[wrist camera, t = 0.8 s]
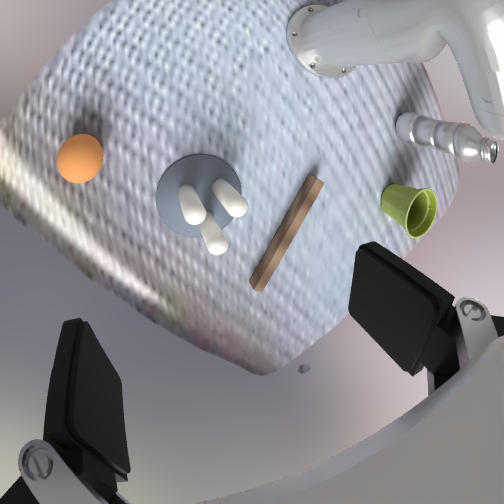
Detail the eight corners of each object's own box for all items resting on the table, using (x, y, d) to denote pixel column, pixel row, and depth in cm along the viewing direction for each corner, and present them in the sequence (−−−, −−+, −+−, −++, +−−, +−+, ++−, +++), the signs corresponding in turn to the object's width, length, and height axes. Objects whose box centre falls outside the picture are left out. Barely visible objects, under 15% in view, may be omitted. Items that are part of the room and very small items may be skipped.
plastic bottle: (392, 107, 41) (488, 126, 24) (415, 114, 43) (503, 136, 26) (389, 140, 44) (482, 171, 27) (411, 145, 46) (497, 175, 29)
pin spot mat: (178, 140, 34) (178, 140, 34) (255, 175, 39) (255, 175, 39) (143, 221, 37) (143, 222, 37) (218, 247, 43) (218, 247, 43)
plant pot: (388, 166, 46) (423, 179, 39) (412, 188, 51) (443, 202, 43) (366, 209, 49) (398, 227, 42) (392, 226, 53) (421, 245, 46)
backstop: (308, 174, 42) (317, 178, 40) (316, 178, 43) (324, 182, 41) (249, 281, 48) (253, 289, 46) (256, 283, 48) (262, 291, 46)
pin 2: (216, 175, 38) (233, 193, 30) (231, 182, 39) (251, 201, 31) (208, 191, 38) (223, 212, 31) (223, 197, 39) (241, 220, 32)
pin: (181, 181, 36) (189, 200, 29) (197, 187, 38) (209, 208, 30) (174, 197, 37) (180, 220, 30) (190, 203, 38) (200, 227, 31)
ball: (74, 126, 28) (60, 129, 23) (113, 140, 31) (106, 145, 26) (59, 169, 30) (44, 180, 25) (97, 182, 32) (88, 195, 28)
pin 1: (200, 207, 39) (213, 233, 32) (215, 213, 40) (231, 239, 33) (193, 222, 40) (204, 251, 32) (208, 228, 41) (222, 257, 33)
